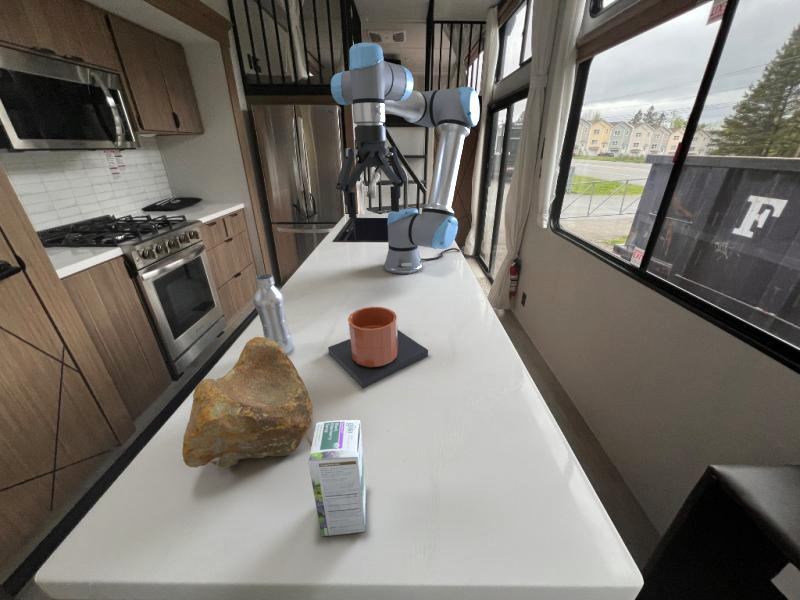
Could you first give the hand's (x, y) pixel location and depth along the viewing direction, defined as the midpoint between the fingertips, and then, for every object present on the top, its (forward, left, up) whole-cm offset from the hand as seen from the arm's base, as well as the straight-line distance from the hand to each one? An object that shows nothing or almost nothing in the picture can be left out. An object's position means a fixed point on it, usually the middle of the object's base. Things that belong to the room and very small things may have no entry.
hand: (374, 214), depth 87 cm
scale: (+14, +20, -29) cm, 37 cm away
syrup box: (+38, +48, -29) cm, 68 cm away
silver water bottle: (+32, +4, -29) cm, 43 cm away
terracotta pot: (+16, +22, -27) cm, 38 cm away
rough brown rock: (+42, +28, -29) cm, 58 cm away
